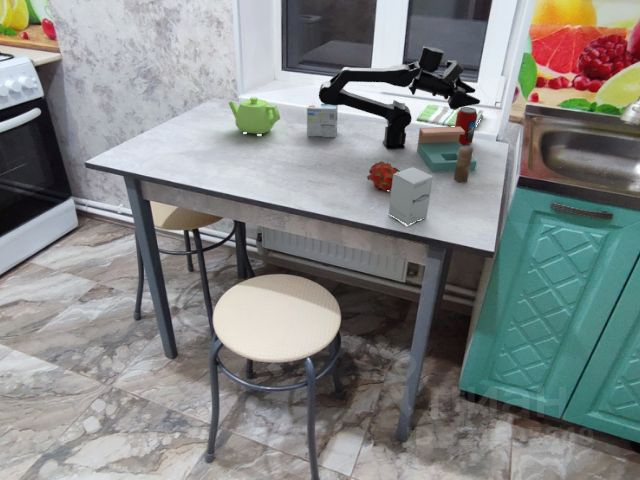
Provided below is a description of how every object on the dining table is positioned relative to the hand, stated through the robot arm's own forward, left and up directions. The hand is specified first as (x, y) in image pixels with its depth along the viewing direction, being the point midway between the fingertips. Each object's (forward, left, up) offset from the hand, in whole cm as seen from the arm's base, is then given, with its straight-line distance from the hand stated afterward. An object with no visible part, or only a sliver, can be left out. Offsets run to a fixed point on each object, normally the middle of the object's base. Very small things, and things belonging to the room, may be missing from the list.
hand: (477, 96), depth 155 cm
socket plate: (-11, -9, -18) cm, 23 cm away
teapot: (-73, +23, -18) cm, 79 cm away
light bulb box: (-49, +18, -18) cm, 55 cm away
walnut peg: (-11, -23, -18) cm, 32 cm away
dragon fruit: (-35, -26, -18) cm, 48 cm away
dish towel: (+4, +29, -19) cm, 34 cm away
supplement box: (-33, -43, -18) cm, 58 cm away
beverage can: (0, +5, -18) cm, 19 cm away
